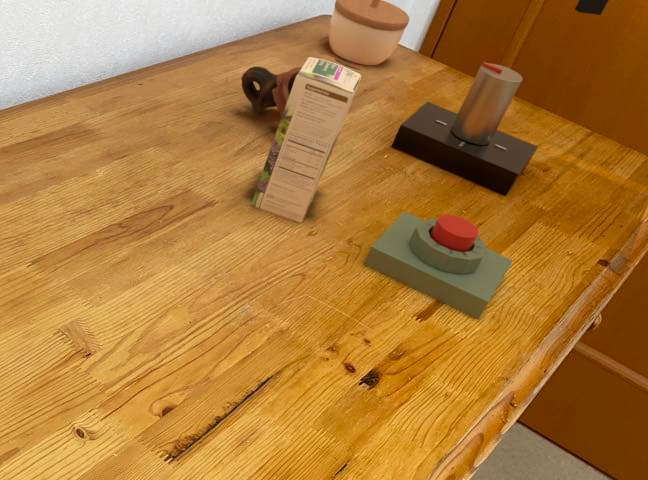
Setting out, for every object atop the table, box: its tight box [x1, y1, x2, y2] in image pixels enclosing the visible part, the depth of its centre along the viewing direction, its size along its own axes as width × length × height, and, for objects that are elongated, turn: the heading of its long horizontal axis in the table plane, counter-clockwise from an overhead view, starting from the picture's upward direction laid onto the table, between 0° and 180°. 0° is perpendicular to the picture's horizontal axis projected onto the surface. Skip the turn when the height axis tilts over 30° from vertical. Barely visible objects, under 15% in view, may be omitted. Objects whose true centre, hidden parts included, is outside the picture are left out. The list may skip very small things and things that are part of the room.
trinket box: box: [328, 0, 410, 71], centre depth 123 cm, size 11×11×9 cm
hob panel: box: [391, 101, 539, 197], centre depth 107 cm, size 15×11×3 cm
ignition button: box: [430, 214, 479, 252], centre depth 83 cm, size 4×4×2 cm
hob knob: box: [451, 61, 523, 145], centre depth 103 cm, size 5×5×8 cm
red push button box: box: [363, 210, 514, 320], centre depth 84 cm, size 12×10×4 cm
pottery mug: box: [241, 66, 303, 136], centre depth 103 cm, size 12×10×8 cm
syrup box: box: [250, 56, 363, 224], centre depth 85 cm, size 6×6×14 cm
